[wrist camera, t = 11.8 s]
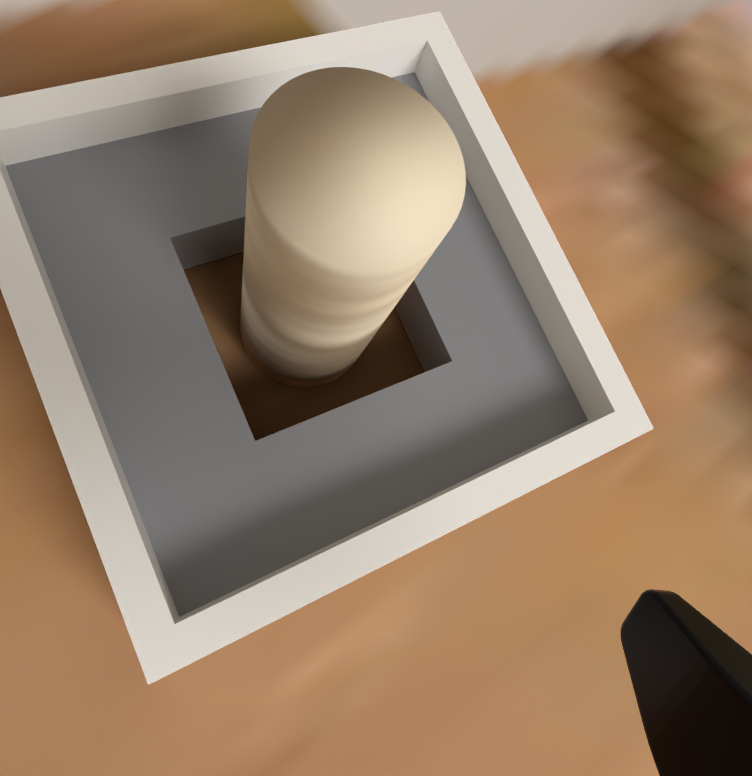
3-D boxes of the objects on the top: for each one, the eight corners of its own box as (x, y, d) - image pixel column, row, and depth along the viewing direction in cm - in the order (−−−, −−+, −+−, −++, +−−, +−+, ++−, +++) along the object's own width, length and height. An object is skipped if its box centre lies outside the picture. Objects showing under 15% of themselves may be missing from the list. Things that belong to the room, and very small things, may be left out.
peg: (387, 319, 22) (502, 157, 13) (318, 412, 21) (391, 308, 11) (289, 247, 22) (335, 29, 13) (213, 337, 21) (199, 166, 11)
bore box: (583, 446, 23) (653, 428, 19) (165, 654, 18) (148, 685, 14) (407, 91, 25) (440, 11, 21) (-11, 191, 20) (-67, 110, 16)
